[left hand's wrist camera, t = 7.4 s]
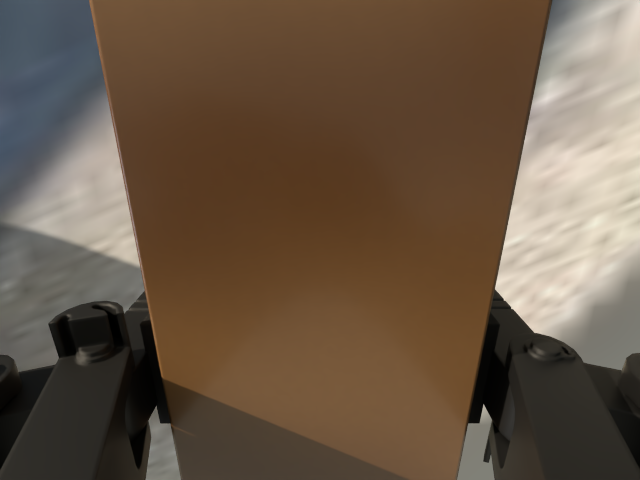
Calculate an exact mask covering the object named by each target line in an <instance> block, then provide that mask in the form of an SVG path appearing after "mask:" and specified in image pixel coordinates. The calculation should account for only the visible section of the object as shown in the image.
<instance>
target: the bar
mask: <svg viewBox="0 0 640 480" xmlns="http://www.w3.org/2000/svg"><path fill="white" fill-rule="evenodd" d="M89 2H90V7H91V12H92V17H93V22H94V28H95V33H96V38H97V43H98V48H99V54H100V59H101V64H102V69H103V74H104V80H105V85H106V90H107V95H108V100H109V106H110V111H111V116H112V121H113V126H114V132H115V137H116V142H117V147H118V152H119V158H120V163H121V168H122V173H123V179H124V184H125V189H126V194H127V199H128V205H129V210H130V215H131V220H132V225H133V231H134V236H135V241H136V246H137V251H138V257H139V262H140V267H141V272H142V277H143V283H144V288H145V293H146V298H147V303H148V309H149V314H150V319H151V324H152V329H153V335H154V340H155V345H156V350H157V355H158V361H159V366H160V371H161V376H162V382H163V387H164V392H165V397H166V402H167V408H168V413H169V418H170V423H171V428H172V434H173V439H174V444H175V449H176V454H177V460H178V465H179V470H180V475H181V480H457V476H458V471H459V466H460V461H461V456H462V451H463V446H464V441H465V436H466V431H467V426H468V421H469V416H470V411H471V406H472V401H473V396H474V391H475V386H476V381H477V376H478V371H479V366H480V361H481V356H482V351H483V346H484V341H485V336H486V331H487V326H488V321H489V316H490V310H491V305H492V300H493V295H494V290H495V285H496V280H497V275H498V270H499V265H500V260H501V255H502V250H503V245H504V240H505V235H506V230H507V225H508V220H509V215H510V210H511V205H512V200H513V195H514V190H515V185H516V180H517V175H518V170H519V165H520V160H521V155H522V150H523V145H524V140H525V135H526V130H527V125H528V120H529V115H530V110H531V105H532V100H533V95H534V90H535V85H536V80H537V75H538V69H539V64H540V59H541V54H542V49H543V44H544V39H545V34H546V29H547V24H548V19H549V14H550V9H551V4H552V0H89Z"/></svg>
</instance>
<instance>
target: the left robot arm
mask: <svg viewBox="0 0 640 480" xmlns="http://www.w3.org/2000/svg"><path fill="white" fill-rule="evenodd" d="M49 327H50V331H51V334H52V337H53V340H54V343H55V346H56V350H57V353H58V356H59V360H58V361H57V363H56V365H52V366H47V367H42V368H37V369H32V370H27V371H22V372H18V370H17V367H16V364H15V362H14V360H13V359H12V358H11V357H9V356H7V355H0V480H145V479H146V472H147V464H148V457H149V449H150V442H151V433H150V427H149V422H148V420H149V418H150V416H151V414H152V413H153V411H154V409H155V407H156V405H157V410H158V414H159V419H160V423H170V418H169V413H168V408H167V402H166V397H165V392H164V387H163V382H162V376H161V371H160V366H159V361H158V355H157V350H156V345H155V340H154V335H153V329H152V324H151V319H150V314H149V309H148V303H147V298H146V293H145V291H144V292H143V294H142V295H141V296H140V297H139V298H138V299H137V301H136V302H134V304H133V305H132V306H131V307H130V308H129V311H126V312H125V314H124V311H123V307H122V306H121V305H119V304H118V303H115V302H110V301H99V302H91V303H87V304H82V305H79V306H76V307H73V308H71V309H68V310H66V311H64V312H63V313H61V314H59V315H57V316H56V317H55V318H54V319H53V320H52V321H51V322H50V323H49ZM483 404H484V405H485V407H486V409H487V411H488V413H489V415H490V417H491V419H492V422H491V427H490V431H489V436H488V440H487V445H486V449H485V454H484V462H489V459H490V455H491V456H492V463H493V470H494V478H495V480H640V353H635V354H631V355H630V356H629V357H627V358H626V361H625V363H624V366H623V369H622V370H616V369H611V368H606V367H601V366H596V365H591V364H587V363H583V361H582V359H581V357H580V356H579V355H578V354H577V352H576V351H575V350H574V349H572V348H571V347H569V346H568V345H567V344H565V343H564V342H561V341H559V340H557V339H555V338H552V337H550V336H546V335H542V334H538V333H534V332H533V331H532V330H531V329H530V328H529V326H528V325H527V324H526V323H525V322H524V321H523V320H522V319H521V318H520V317H519V315H518V314H517V313H516V312H515V311H514V310H513V309H511V307H510V306H509V304H508V303H507V302H506V301H504V299H503V298H502V297H501V296H500V294H499V293H498V292H497V291H496V290H494V295H493V300H492V305H491V310H490V316H489V321H488V326H487V331H486V336H485V341H484V346H483V351H482V356H481V361H480V366H479V371H478V376H477V381H476V386H475V391H474V396H473V401H472V406H471V411H470V416H469V421H468V423H480V418H481V413H482V408H483Z"/></svg>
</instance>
